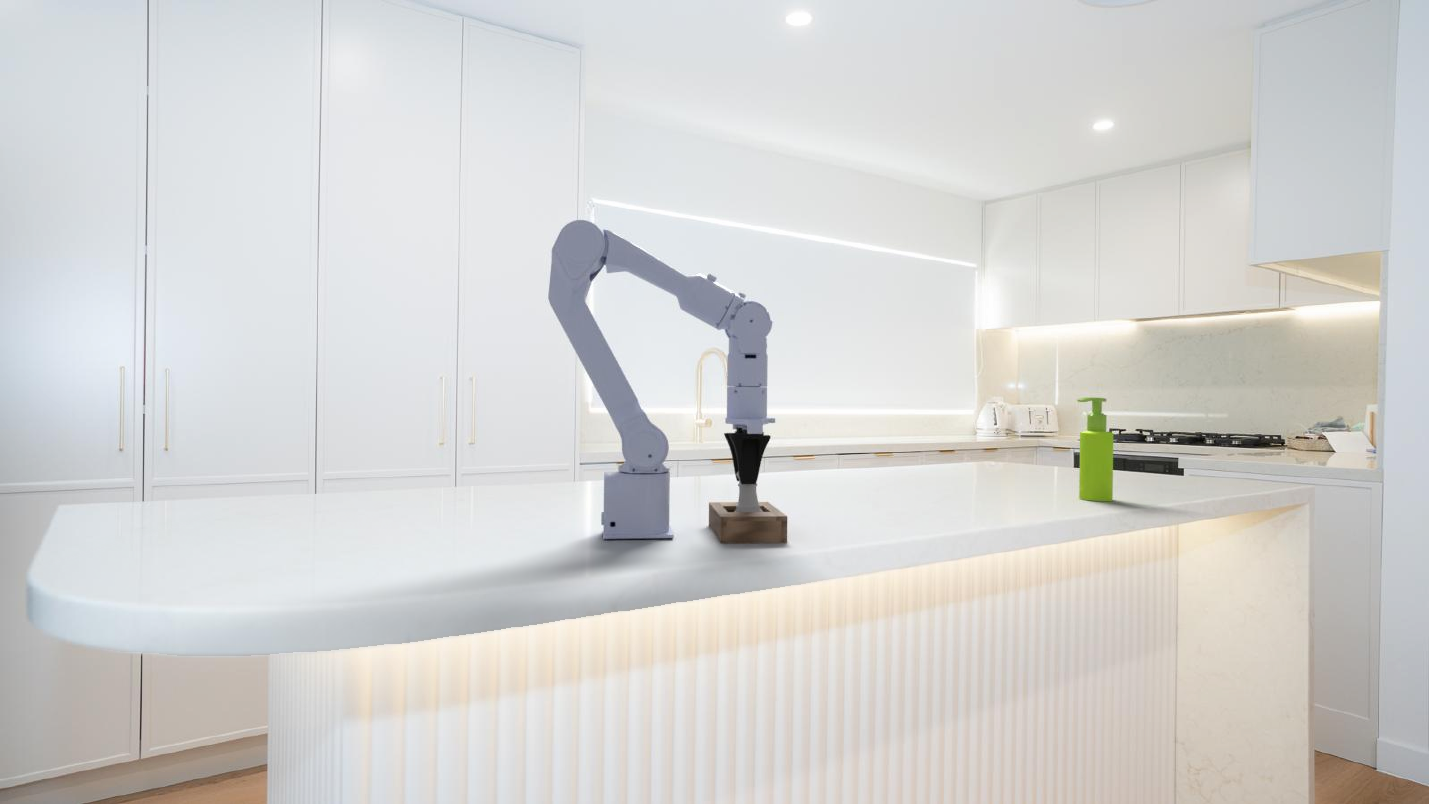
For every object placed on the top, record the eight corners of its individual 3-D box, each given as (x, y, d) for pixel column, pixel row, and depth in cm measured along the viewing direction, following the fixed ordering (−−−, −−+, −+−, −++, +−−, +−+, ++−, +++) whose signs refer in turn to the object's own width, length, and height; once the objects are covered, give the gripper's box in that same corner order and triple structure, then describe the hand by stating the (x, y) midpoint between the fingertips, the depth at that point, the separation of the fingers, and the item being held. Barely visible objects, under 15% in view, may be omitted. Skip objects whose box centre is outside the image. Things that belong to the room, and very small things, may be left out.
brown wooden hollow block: (720, 543, 103) (720, 516, 103) (708, 525, 117) (708, 502, 117) (787, 542, 104) (787, 516, 104) (767, 524, 118) (767, 501, 118)
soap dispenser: (1068, 497, 154) (1069, 397, 153) (1096, 496, 156) (1097, 397, 156) (1090, 501, 148) (1092, 397, 148) (1119, 500, 150) (1120, 397, 150)
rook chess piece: (764, 526, 108) (762, 468, 108) (732, 526, 108) (730, 469, 108) (764, 520, 112) (763, 465, 112) (734, 521, 113) (732, 466, 112)
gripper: (785, 386, 103) (784, 488, 103) (765, 387, 118) (764, 477, 118) (733, 386, 102) (732, 488, 103) (719, 387, 117) (718, 477, 117)
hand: (746, 482), depth 110 cm, fingers closed on rook chess piece, 3 cm apart
